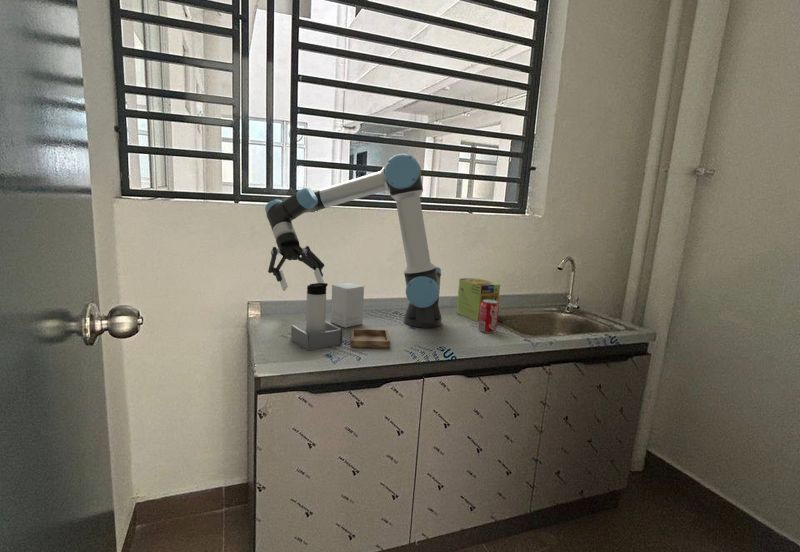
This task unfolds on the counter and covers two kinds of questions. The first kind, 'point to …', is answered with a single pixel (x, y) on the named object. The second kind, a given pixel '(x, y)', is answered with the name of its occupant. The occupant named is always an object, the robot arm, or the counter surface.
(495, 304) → the soda can
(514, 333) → the counter surface
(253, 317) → the counter surface
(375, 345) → the tray
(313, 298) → the travel mug
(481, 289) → the protein box
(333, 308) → the supplement box
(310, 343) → the bay
